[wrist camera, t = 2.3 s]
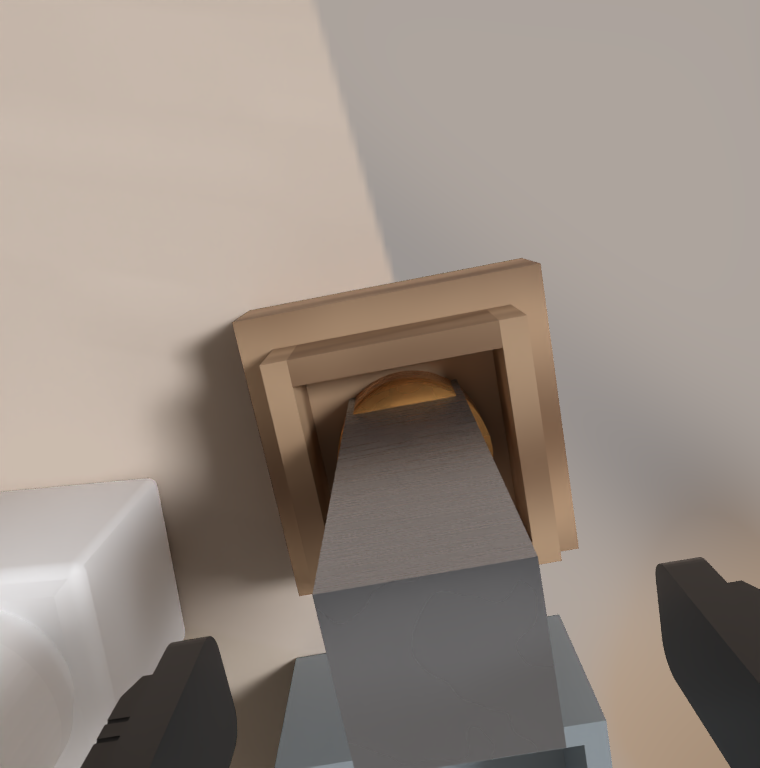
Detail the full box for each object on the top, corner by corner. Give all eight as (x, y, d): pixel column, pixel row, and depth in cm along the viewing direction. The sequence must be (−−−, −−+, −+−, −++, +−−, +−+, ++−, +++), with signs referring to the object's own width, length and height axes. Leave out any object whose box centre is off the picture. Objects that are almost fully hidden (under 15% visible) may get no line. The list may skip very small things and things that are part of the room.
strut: (327, 384, 22) (267, 567, 11) (471, 357, 22) (571, 514, 10) (356, 517, 23) (329, 813, 12) (493, 492, 23) (605, 770, 12)
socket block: (250, 310, 25) (213, 335, 19) (521, 258, 24) (560, 269, 19) (308, 555, 27) (289, 638, 22) (557, 512, 27) (600, 586, 21)
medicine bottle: (20, 650, 28) (-237, 954, 17) (-21, 490, 26) (-339, 705, 15) (189, 635, 28) (50, 933, 16) (158, 474, 26) (-21, 677, 15)
